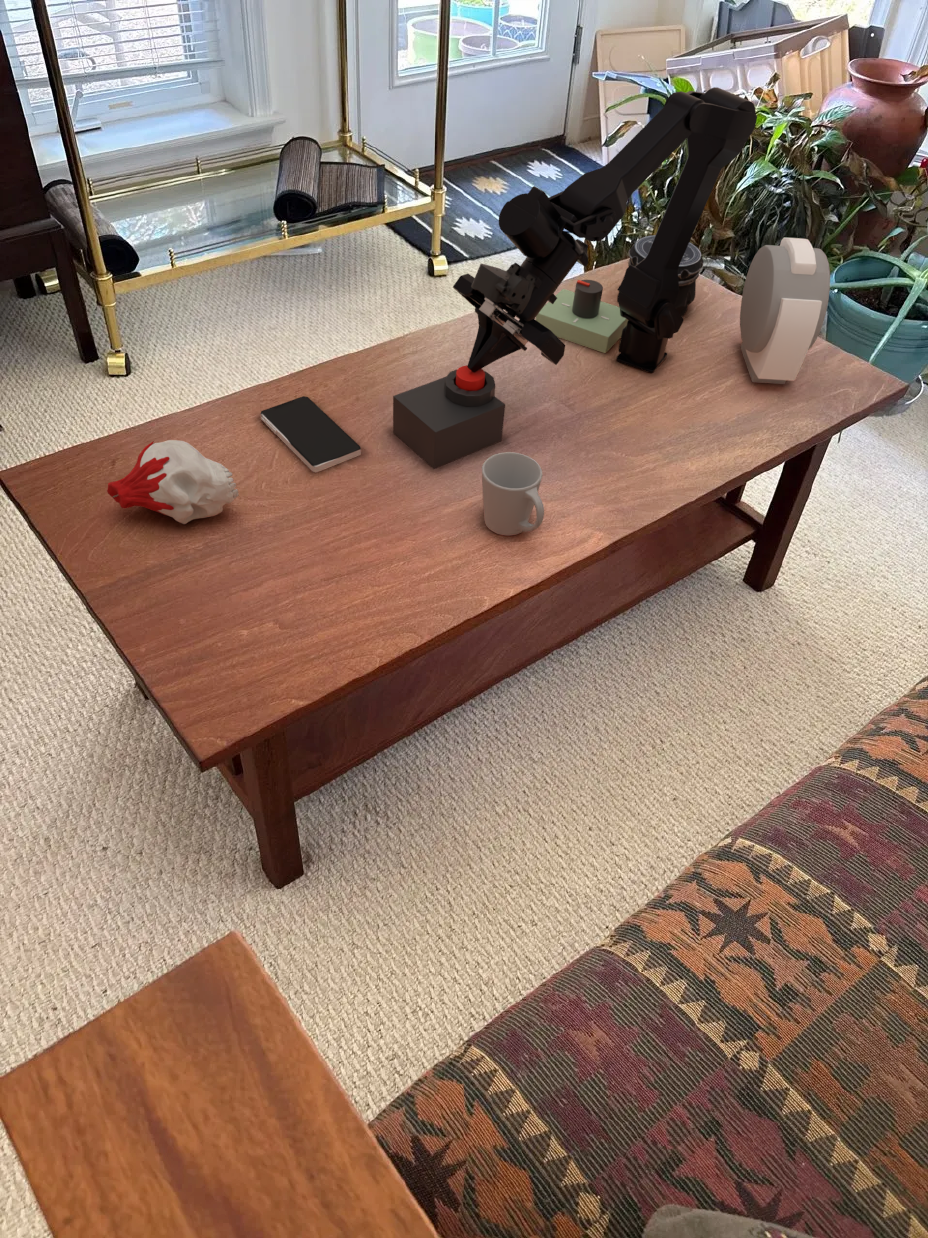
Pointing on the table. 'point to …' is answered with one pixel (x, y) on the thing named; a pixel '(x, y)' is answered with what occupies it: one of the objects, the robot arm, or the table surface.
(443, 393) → the button housing
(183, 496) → the candle
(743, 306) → the alarm clock
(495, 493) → the cup
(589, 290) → the timer knob
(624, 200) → the robot arm
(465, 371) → the power button
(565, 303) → the timer panel
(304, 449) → the smartphone
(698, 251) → the container
